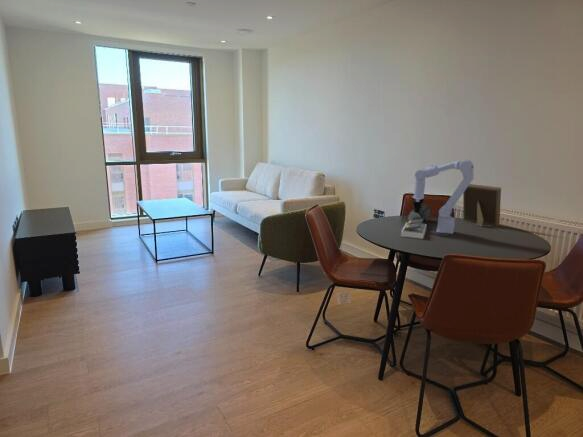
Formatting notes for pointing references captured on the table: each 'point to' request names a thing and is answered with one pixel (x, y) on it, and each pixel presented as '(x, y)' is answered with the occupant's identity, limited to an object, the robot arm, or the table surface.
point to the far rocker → (415, 221)
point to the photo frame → (482, 204)
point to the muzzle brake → (421, 215)
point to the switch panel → (414, 232)
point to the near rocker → (413, 226)
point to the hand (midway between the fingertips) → (417, 211)
